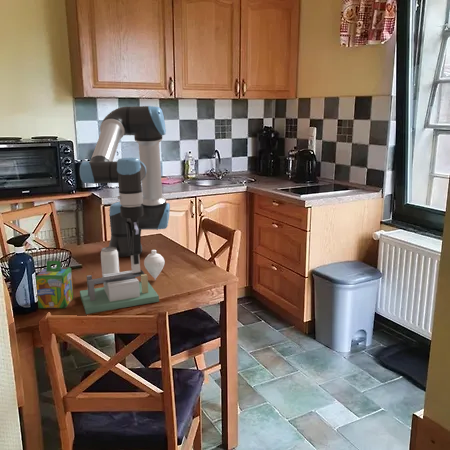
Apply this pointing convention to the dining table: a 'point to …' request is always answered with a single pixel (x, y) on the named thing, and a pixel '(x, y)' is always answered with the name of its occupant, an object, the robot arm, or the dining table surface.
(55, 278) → the chalk box
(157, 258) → the spinning top
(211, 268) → the dining table surface
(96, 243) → the dining table surface
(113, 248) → the can
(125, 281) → the heatsink board
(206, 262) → the dining table surface
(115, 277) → the strap
